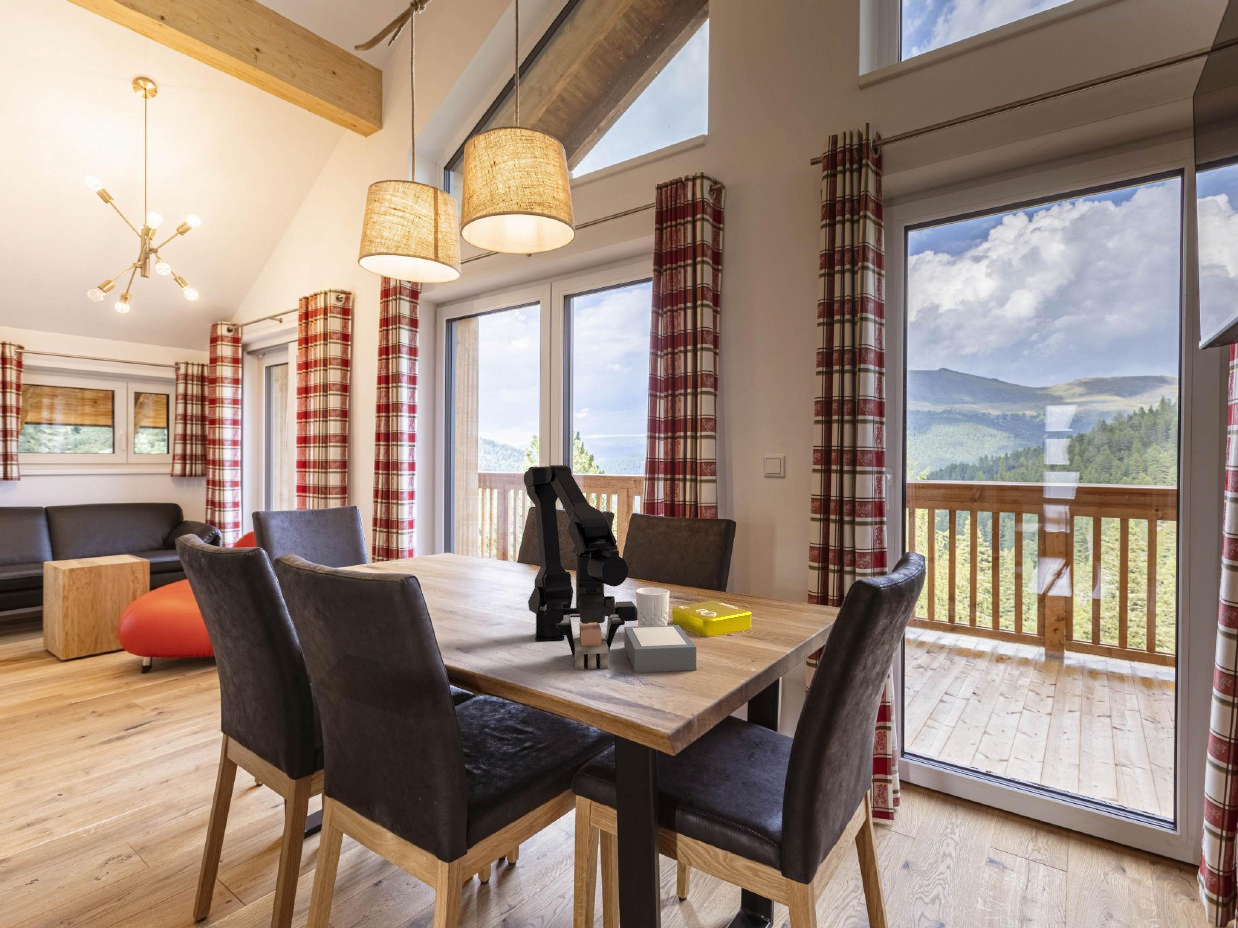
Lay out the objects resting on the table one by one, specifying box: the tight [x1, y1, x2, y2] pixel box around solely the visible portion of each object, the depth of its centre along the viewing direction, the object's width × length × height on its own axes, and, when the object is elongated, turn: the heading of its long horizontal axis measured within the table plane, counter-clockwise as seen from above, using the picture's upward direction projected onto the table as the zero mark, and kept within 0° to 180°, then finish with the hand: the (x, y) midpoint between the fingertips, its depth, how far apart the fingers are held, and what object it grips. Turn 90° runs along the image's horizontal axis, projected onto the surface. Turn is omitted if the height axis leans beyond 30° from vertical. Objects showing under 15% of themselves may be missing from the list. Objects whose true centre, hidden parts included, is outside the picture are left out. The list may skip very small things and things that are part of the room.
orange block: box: [579, 622, 602, 646], centre depth 126 cm, size 4×6×3 cm, turn 7°
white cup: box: [635, 587, 670, 626], centre depth 146 cm, size 8×8×10 cm
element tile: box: [671, 600, 753, 638], centre depth 152 cm, size 15×15×5 cm
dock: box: [623, 624, 697, 674], centre depth 128 cm, size 12×16×5 cm
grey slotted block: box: [573, 633, 609, 671], centre depth 126 cm, size 6×10×4 cm, turn 7°
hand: (590, 654), depth 126 cm, fingers closed on grey slotted block, 6 cm apart
